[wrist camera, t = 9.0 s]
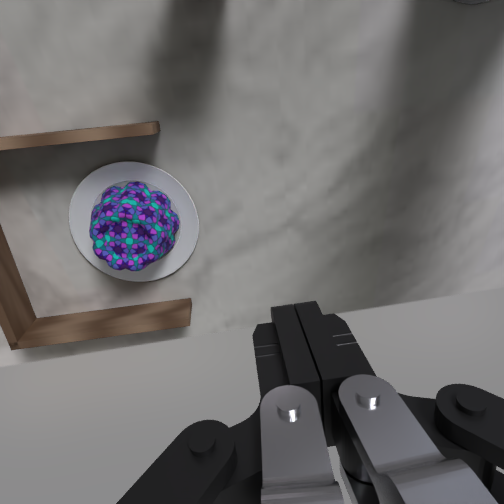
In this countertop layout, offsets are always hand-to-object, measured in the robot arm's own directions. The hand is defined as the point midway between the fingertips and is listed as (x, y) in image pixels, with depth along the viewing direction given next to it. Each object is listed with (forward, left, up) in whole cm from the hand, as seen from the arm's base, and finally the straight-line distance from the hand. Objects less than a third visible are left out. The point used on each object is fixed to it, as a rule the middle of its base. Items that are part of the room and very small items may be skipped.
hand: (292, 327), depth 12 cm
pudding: (+11, -1, -25) cm, 27 cm away
